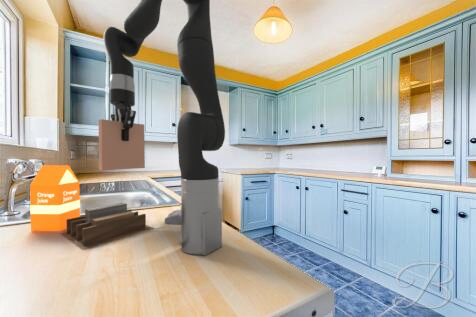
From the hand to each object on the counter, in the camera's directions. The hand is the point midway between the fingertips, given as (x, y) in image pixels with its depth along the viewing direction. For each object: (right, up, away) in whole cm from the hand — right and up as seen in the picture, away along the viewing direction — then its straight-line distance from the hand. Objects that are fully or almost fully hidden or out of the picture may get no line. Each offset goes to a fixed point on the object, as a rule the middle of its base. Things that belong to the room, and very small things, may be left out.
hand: (123, 141), depth 71 cm
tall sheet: (0, -10, 0) cm, 10 cm away
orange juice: (-17, -28, -7) cm, 34 cm away
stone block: (+20, -28, +1) cm, 35 cm away
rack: (+2, -28, -11) cm, 30 cm away
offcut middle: (+1, -27, -10) cm, 29 cm away
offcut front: (+5, -27, -13) cm, 30 cm away
